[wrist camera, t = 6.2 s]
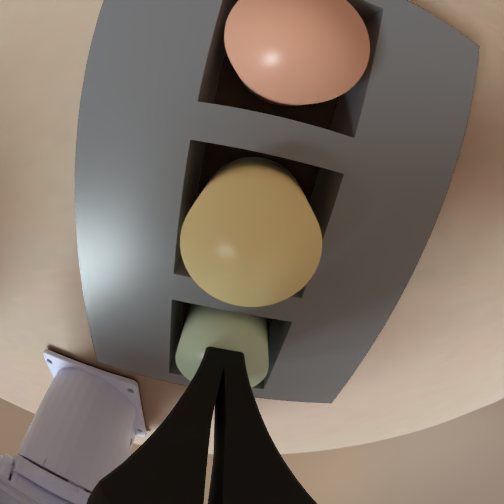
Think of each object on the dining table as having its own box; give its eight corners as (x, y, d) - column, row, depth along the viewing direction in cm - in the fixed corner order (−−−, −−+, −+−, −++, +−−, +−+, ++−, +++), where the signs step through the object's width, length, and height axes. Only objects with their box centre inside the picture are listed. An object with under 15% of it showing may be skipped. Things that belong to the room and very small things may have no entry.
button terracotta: (325, 117, 9) (353, 121, 6) (225, 94, 9) (210, 87, 6) (345, 32, 8) (379, 5, 5) (246, 7, 7) (242, -31, 4)
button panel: (323, 361, 16) (331, 403, 13) (117, 323, 15) (97, 361, 12) (436, 53, 8) (479, 46, 5) (150, -17, 7) (121, -45, 4)
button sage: (257, 344, 14) (256, 397, 11) (188, 331, 14) (174, 382, 11) (275, 289, 13) (279, 342, 10) (194, 273, 12) (177, 324, 9)
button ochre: (289, 260, 11) (298, 316, 8) (196, 241, 11) (174, 293, 8) (315, 170, 9) (341, 199, 7) (211, 147, 9) (189, 165, 6)
